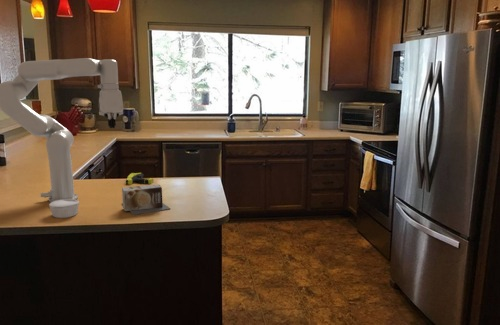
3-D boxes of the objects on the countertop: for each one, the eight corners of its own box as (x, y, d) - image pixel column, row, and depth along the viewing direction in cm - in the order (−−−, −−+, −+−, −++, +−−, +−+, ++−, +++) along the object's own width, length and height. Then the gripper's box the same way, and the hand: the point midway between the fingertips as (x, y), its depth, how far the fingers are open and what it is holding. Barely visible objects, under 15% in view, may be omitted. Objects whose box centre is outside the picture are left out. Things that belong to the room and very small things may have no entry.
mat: (133, 215, 174) (133, 214, 174) (121, 204, 189) (121, 203, 189) (170, 209, 182) (170, 208, 182) (156, 199, 197) (156, 198, 197)
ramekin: (84, 211, 179) (83, 199, 178) (72, 219, 168) (71, 206, 167) (58, 210, 179) (57, 198, 178) (44, 218, 169) (43, 206, 168)
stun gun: (156, 172, 244) (130, 172, 243) (152, 179, 225) (123, 180, 224) (156, 177, 244) (130, 177, 243) (152, 185, 226) (123, 185, 224)
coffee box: (123, 190, 175) (162, 186, 182) (121, 187, 181) (158, 183, 187) (125, 212, 177) (163, 207, 183) (122, 207, 183) (159, 203, 189)
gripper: (94, 87, 184) (97, 129, 188) (128, 87, 192) (130, 127, 195) (90, 87, 190) (93, 127, 194) (124, 87, 198) (126, 126, 202)
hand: (112, 127), depth 195 cm, fingers closed
